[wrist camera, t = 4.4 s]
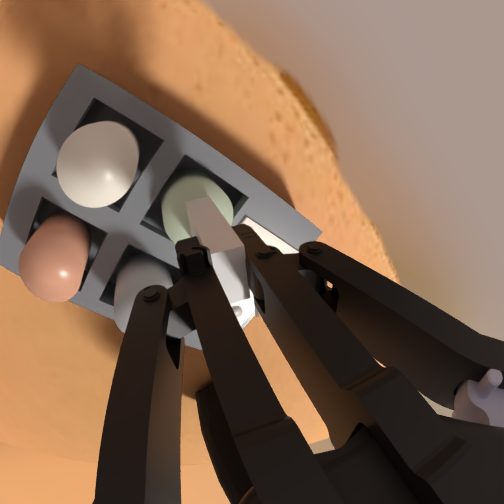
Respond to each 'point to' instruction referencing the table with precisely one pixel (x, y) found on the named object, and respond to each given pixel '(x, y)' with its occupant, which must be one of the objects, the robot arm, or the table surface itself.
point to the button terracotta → (56, 257)
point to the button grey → (137, 283)
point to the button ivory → (98, 163)
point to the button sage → (185, 189)
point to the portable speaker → (222, 446)
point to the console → (135, 193)
